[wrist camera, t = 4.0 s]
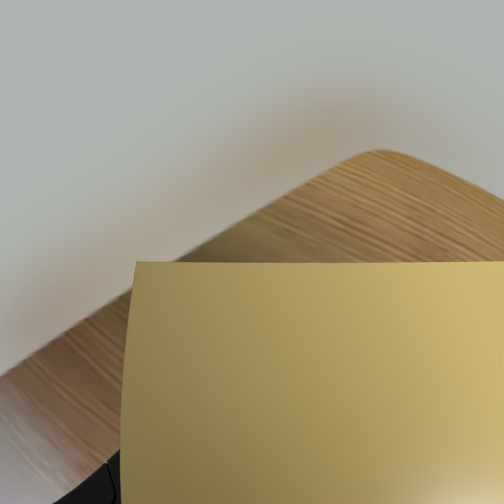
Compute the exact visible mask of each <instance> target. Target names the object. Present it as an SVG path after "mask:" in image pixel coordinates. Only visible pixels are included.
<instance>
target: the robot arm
mask: <svg viewBox="0 0 504 504" xmlns="http://www.w3.org/2000/svg"><path fill="white" fill-rule="evenodd" d="M53 504H121V482H120V449H119V450H118V451H117V452H116V453H115V454H114V455H113V456H112V457H111V458H110V459H109V460H107V463H104V464H103V465H102V466H101V467H100V468H99V469H97V470H96V471H95V472H94V473H93V474H92V475H91V476H89V477H88V478H87V479H86V480H85V481H83V482H82V483H81V484H80V485H79V486H77V487H76V488H75V489H73V490H72V491H70V492H69V493H68V494H66V495H65V496H63V497H62V498H61V499H59V500H58V501H56V502H55V503H53Z"/></svg>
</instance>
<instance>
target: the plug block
mask: <svg viewBox="0 0 504 504" xmlns="http://www.w3.org/2000/svg"><path fill="white" fill-rule="evenodd" d="M120 482H121V504H504V261H502V262H422V263H211V262H136V269H135V274H134V281H133V288H132V295H131V302H130V310H129V318H128V326H127V335H126V345H125V356H124V368H123V382H122V399H121V424H120Z"/></svg>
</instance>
